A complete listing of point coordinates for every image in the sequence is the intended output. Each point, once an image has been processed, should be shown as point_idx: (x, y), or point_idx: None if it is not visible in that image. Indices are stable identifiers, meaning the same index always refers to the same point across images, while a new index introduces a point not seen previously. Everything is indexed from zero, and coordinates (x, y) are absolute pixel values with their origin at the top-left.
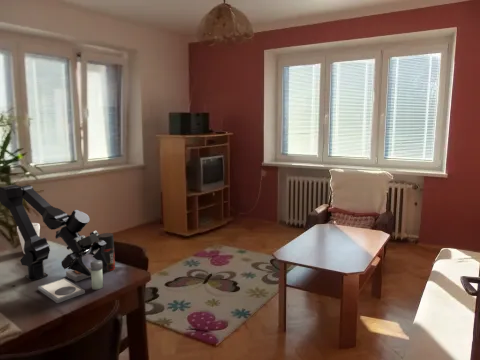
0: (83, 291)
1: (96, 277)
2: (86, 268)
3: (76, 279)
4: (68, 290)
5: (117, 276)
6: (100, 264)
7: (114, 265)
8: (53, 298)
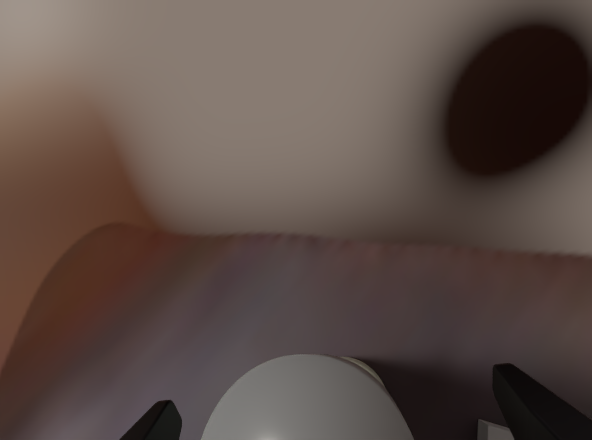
0: (498, 426)
1: (376, 378)
2: None
3: None
4: None
5: (136, 404)
6: (305, 355)
7: None
8: None
